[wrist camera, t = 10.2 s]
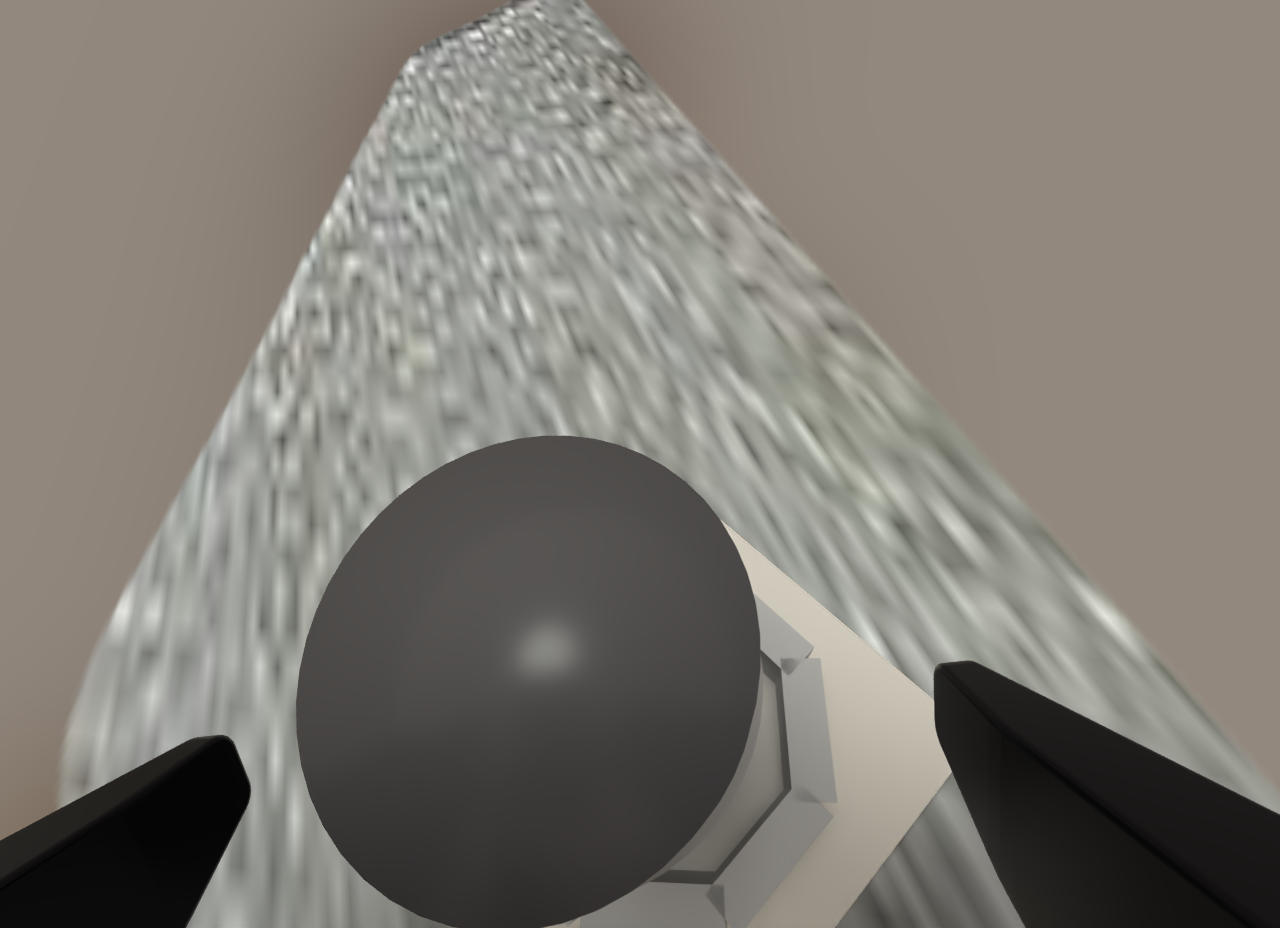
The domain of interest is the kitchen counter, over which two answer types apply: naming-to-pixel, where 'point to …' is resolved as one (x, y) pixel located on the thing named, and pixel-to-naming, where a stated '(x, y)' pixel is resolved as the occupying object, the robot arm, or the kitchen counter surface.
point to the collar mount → (803, 781)
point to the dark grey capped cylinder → (530, 684)
